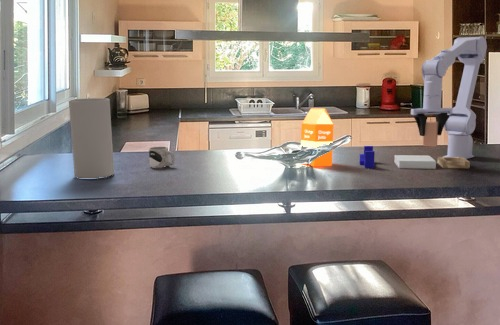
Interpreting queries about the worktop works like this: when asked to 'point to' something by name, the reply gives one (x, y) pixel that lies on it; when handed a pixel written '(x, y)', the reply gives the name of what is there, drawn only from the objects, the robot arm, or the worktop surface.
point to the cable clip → (367, 157)
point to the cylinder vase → (91, 137)
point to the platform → (415, 161)
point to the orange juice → (318, 134)
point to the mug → (160, 157)
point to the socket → (453, 162)
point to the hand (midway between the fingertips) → (430, 135)
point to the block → (430, 134)
